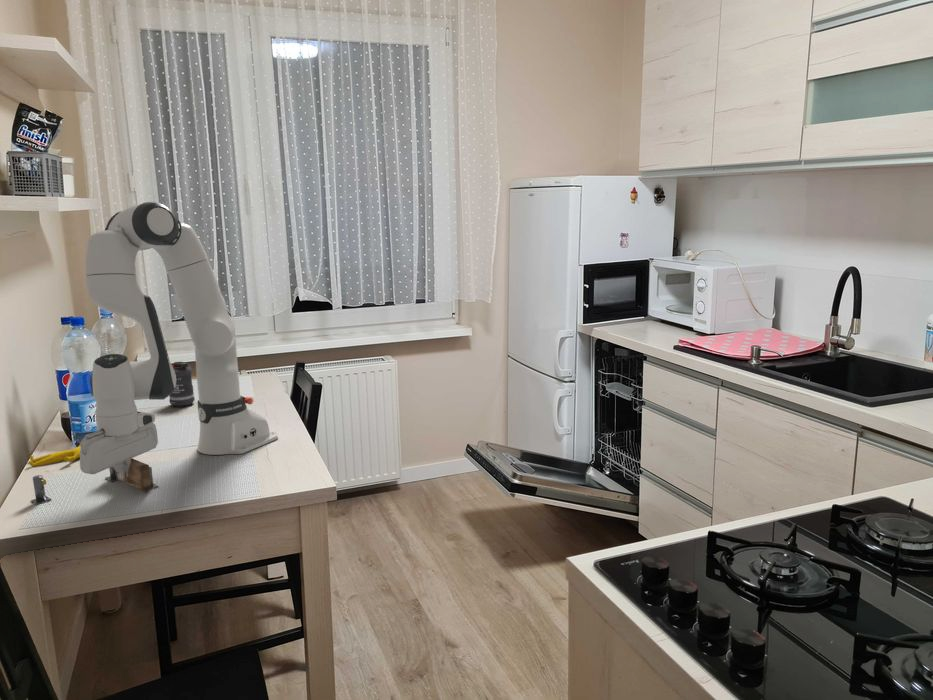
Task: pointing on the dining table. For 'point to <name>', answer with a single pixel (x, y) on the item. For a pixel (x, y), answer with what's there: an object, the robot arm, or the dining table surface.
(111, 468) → the hinge post
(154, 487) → the post
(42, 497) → the latch stile
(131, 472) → the gate
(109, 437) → the robot arm
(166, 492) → the dining table surface
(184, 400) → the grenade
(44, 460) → the figurine
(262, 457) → the dining table surface
